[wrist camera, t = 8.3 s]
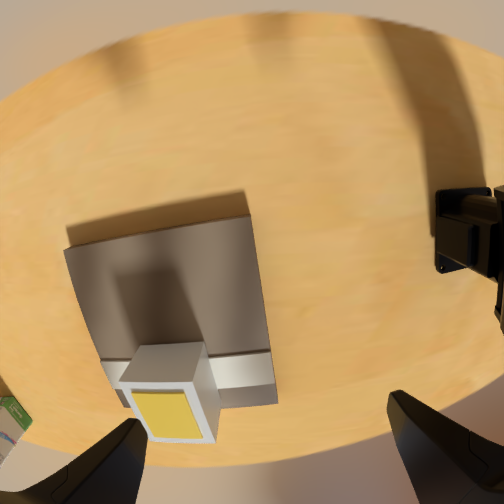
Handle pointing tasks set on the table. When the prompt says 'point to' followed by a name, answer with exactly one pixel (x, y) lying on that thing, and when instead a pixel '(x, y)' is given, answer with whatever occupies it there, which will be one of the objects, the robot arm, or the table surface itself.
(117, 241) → the subfloor board
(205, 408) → the block
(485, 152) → the table surface
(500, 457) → the robot arm
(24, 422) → the ink box
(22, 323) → the table surface
